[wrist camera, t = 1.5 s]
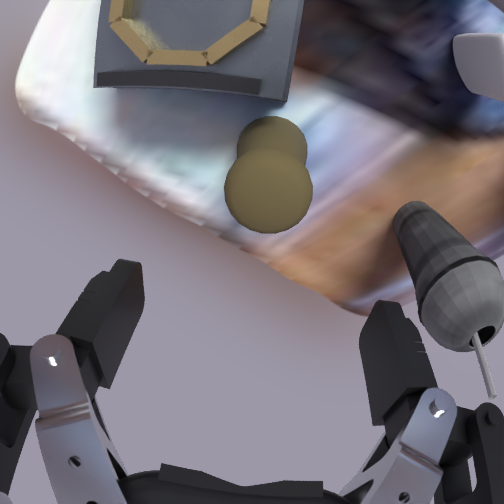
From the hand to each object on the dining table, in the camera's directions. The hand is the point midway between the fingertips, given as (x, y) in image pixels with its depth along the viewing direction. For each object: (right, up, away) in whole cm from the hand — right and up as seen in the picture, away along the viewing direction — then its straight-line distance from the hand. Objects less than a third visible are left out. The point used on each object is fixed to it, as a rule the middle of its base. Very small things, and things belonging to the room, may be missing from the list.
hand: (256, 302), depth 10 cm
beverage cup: (+16, +5, +18) cm, 25 cm away
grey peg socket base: (-4, +21, +9) cm, 23 cm away
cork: (+2, +10, +16) cm, 19 cm away
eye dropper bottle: (+19, +19, +9) cm, 28 cm away
